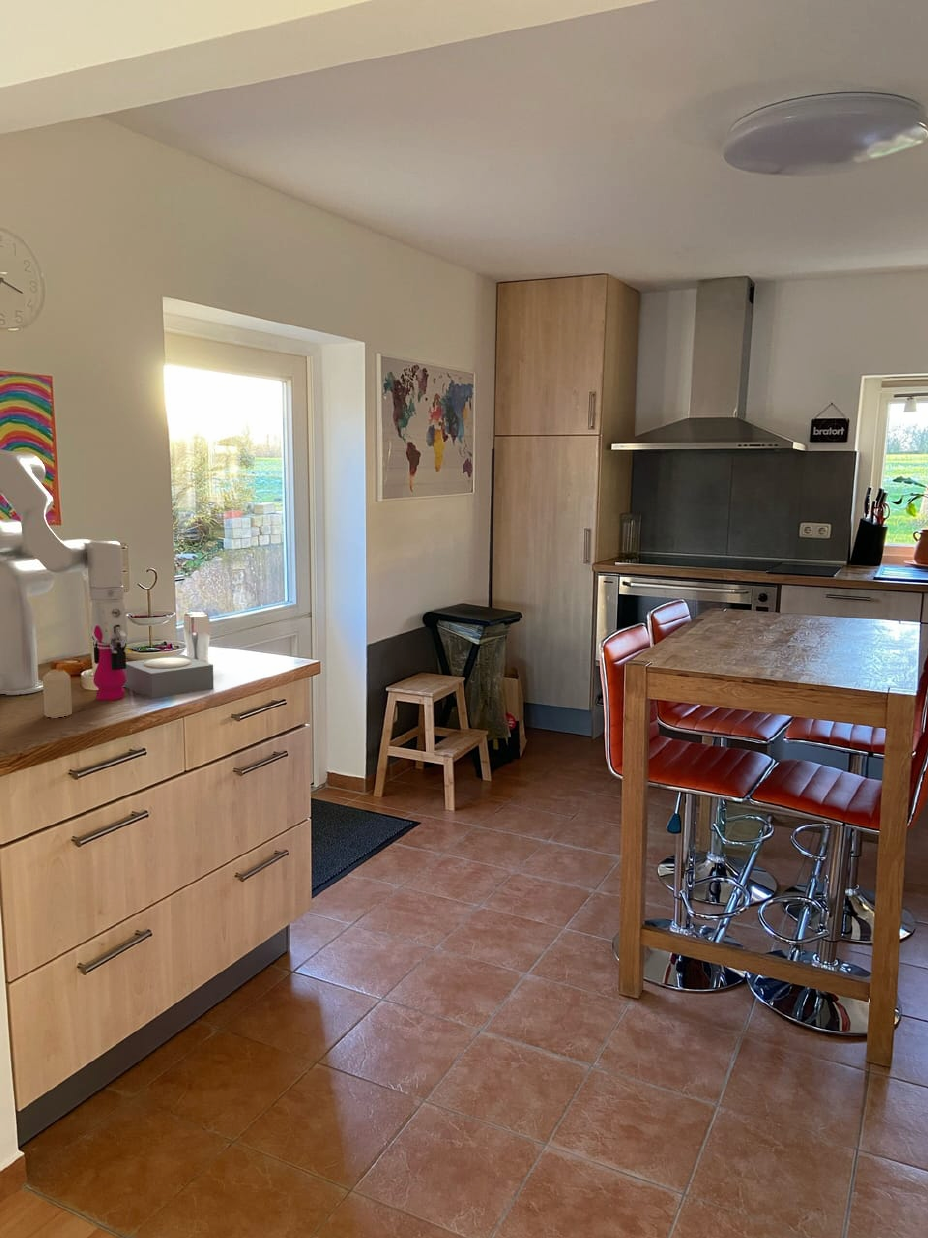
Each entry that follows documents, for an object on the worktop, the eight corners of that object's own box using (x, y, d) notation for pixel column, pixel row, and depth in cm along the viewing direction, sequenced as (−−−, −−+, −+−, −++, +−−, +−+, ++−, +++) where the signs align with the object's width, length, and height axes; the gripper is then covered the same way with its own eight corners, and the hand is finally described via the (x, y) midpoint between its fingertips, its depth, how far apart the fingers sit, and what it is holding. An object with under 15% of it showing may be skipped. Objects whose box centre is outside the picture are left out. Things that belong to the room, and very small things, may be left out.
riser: (152, 698, 213) (151, 672, 212) (123, 686, 224) (122, 661, 223) (213, 688, 224) (213, 663, 223) (182, 677, 235) (182, 653, 234)
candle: (40, 714, 197) (38, 670, 196) (66, 710, 201) (64, 666, 199) (50, 720, 193) (47, 674, 192) (76, 715, 197) (74, 671, 196)
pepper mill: (115, 702, 209) (112, 617, 206) (87, 700, 210) (83, 615, 207) (132, 695, 216) (129, 612, 213) (105, 692, 217) (102, 611, 214)
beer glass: (184, 671, 242) (182, 616, 239) (184, 666, 248) (183, 612, 246) (211, 670, 243) (209, 616, 241) (211, 665, 250) (209, 612, 248)
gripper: (138, 596, 206) (141, 670, 208) (106, 589, 218) (110, 658, 221) (106, 599, 200) (109, 674, 203) (75, 591, 213) (79, 662, 215)
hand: (110, 666), depth 212 cm, fingers open, 9 cm apart
